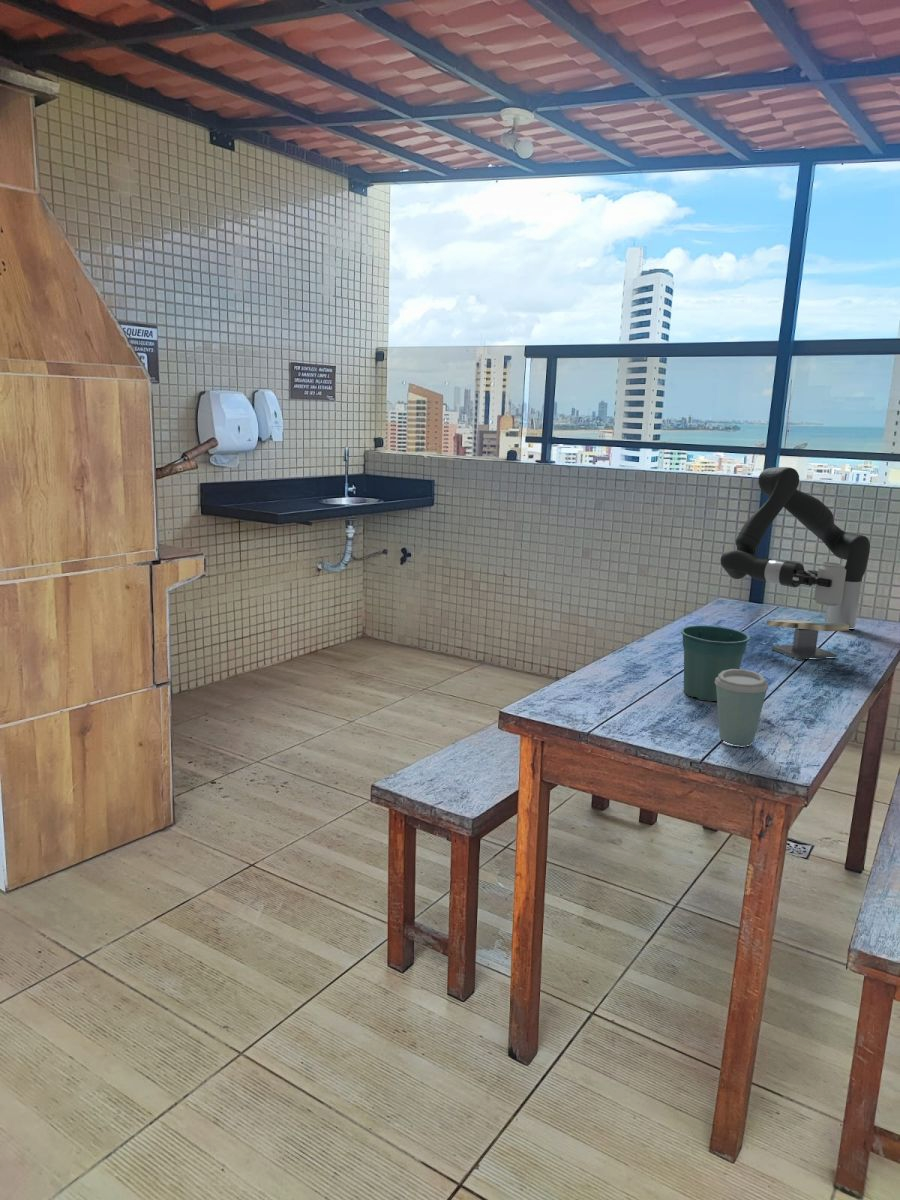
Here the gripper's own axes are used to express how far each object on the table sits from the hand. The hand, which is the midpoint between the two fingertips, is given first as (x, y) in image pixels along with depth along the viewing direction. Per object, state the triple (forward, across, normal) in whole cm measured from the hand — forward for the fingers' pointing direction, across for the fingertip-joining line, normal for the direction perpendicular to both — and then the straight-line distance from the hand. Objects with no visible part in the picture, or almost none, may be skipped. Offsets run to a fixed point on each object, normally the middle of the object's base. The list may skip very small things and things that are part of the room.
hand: (837, 582), depth 244 cm
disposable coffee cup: (+20, -85, +24) cm, 90 cm away
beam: (-8, +3, +15) cm, 17 cm away
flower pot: (-2, -60, +24) cm, 65 cm away
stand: (-8, +3, +24) cm, 26 cm away
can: (-2, 0, +7) cm, 7 cm away
